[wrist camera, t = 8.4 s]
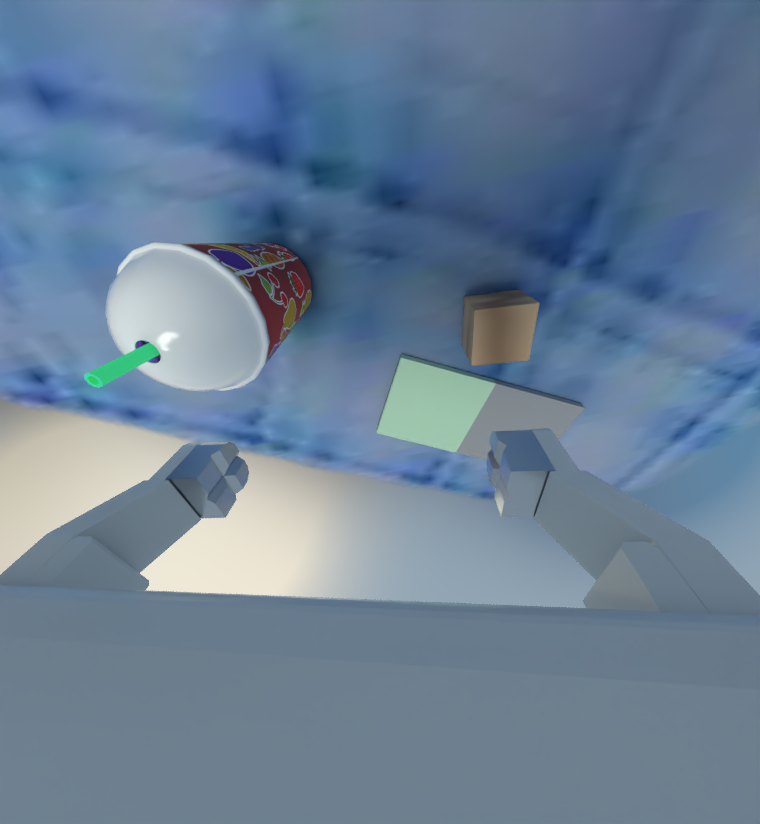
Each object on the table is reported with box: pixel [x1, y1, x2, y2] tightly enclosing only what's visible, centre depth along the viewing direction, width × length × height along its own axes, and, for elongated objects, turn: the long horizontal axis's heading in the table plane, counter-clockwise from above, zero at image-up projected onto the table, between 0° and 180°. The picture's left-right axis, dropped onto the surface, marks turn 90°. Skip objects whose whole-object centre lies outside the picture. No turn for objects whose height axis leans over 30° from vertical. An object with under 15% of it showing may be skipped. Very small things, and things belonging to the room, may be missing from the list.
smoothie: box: [84, 242, 312, 392], centre depth 19 cm, size 8×8×20 cm
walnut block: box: [462, 290, 540, 366], centre depth 26 cm, size 5×5×5 cm
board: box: [376, 354, 585, 460], centre depth 34 cm, size 22×11×1 cm, turn 75°
